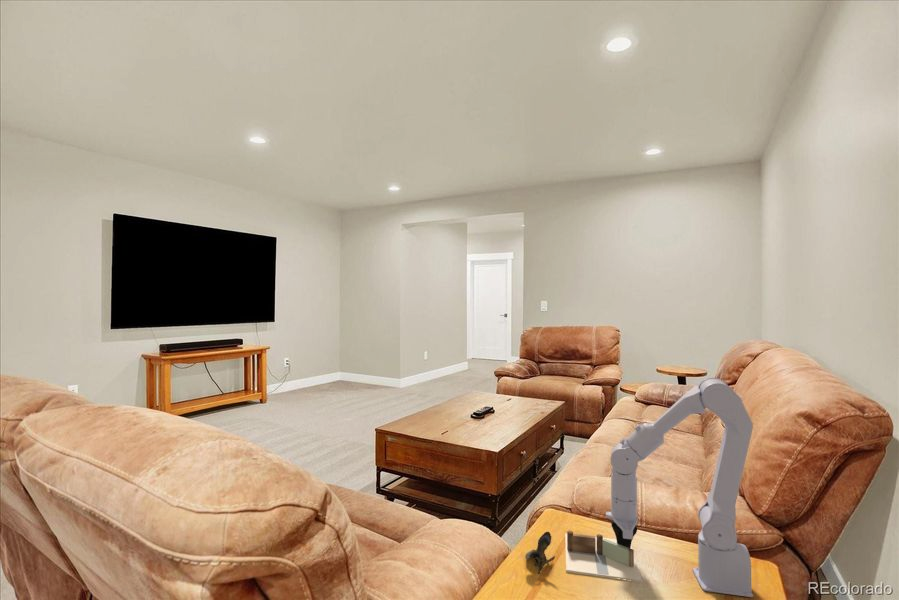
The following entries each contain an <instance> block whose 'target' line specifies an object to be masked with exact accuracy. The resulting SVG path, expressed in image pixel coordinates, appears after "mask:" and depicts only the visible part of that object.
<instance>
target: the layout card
mask: <svg viewBox="0 0 899 600" xmlns="http://www.w3.org/2000/svg"><path fill="white" fill-rule="evenodd" d="M564 538H565V540H564V542H565V572H566V573H570V574H577V575H584V576H585V575H586V576H590V577H591V576H592V577H598V576H599V578H605V577H609V578H608V579H612V578H620V579H626V580H625V581H627V580H631V581H630V582H634V581H635V582H634V583H641V582H642V583H643V579H642V577H641V574H640V570H639V567H638V562H637V559H636V557H635V555H634V567H630V566H628V565H626V564H623V563H621V562H619V561H616V560H614V559H611V558H609V557H607V556H604V555H598V554H597V536H595V538H596V554H591V553H583V552H575V551H568V550H567V532H566V533H565V534H564ZM604 539H607V540H609V541H612V542H615V543H617V540H616V538H607V537H603V540H604ZM630 549H633V547H632V545H631V548H630ZM620 579H619V580H620Z"/></svg>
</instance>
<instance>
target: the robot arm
mask: <svg viewBox="0 0 899 600" xmlns="http://www.w3.org/2000/svg"><path fill="white" fill-rule="evenodd" d="M705 408H706V409H708V410H709V411H710V412H712V413H713V414H714V415H716V416H717V417H718V418H719V419H720V421H721V422H722V423H723V424H724V428H723V429H724V430H723V434H722V438H721V442H720V447H719V452H718V456H717V459H716V460H717V461H716V465H715V470H714V474H713V479H712V483H711V488H710V491H709V493H708V494H707V496H706V500H705V503H704V504H703V505H702V506H701V507H700V508H699V510H698V519H699V521H700V524H701V531H700V532H699V533H698V535H697V538H698V540H697V545H698V547H697V548H698V550H697V551H698V553H697V554H698V557H697V558H698V563H697V564H698V567H692V572H693V573H694V575H695V578H696V580H697V582H698V584H699V586H700V587H701V589H702V591H705V592H710V593H717V594H718V593H719V594H724V595H732V596H739V597H746V598H753V597H754V593H752V592H753V591H752V590H753V589H752V560H751V556H750V552H749V550H748V548H747V546H746V545H745V544H742V543H739V542H737V541H738V533H737V530H736V527H735V526H736V520H737V514H736V509H737V508H736V504H737V501H738V496H739V491H740V486H741V482H742V477H743V473H744V468H745V465H746V464H745V463H746V460H747V459H746V458H747V454H748V452H749V446H750V441H751V438H752V433H753V430H754V429H753V427H754V423H753V421H752V419H751V417H750V414H749V412H748V411H747V408H746V407H745V405H744V403H743V400H742V398H741V397H740V395H739V394H737V393H736V392H735V390H734V389H733V388H732V387H730V385H728V384H727V382H725V381H724V380H723V379H720V378H718V377H714V376H713V377H707V378H705V379H703V380H701V381H700V383H699V385H694V386H693V387H691V388H690V389H689V390H688V391H687V392H686V393H684V394H682V396H681V397H679V399H678V400H676V402H675V403H673V404H672V405H671V406H670V407H669V408H667V410H666V411H665V412H664V413H663V414H662V415H661V416H659V417H658V418H657V419H656V420H655V421H654V422H651V423H650V422H644V423H642V424H640V423H639V424H637V425H636V426H635V427H634V431H633V432H632V433H631V434H630V435H628V436H627V437H626V438H622V439H621V440H620V442H619V443H618V444H616V445H614V446H613V448H612V450H611V455H610V465H611V476H610V480H611V481H610V511H605V517H606V518H607V519H611V521H610V524H611V529H612V530H613V532H614V534H615V539H616V540H617V544H620V545H622V546H625V547H627V548H631V546H632V541H633V539H634V537H635V535H636V534H637V532H638V526H637V523H638V521H639V517H638V479H637V475H636V472H637V469H638V466H639V462H642V461H644V460H645V459H647V458H648V457H649V456H650V455H651V454H652V453H654V452H655V451H656V450H657V449H659V448H660V447H661V446H662V445H663V444H664V443H665V439H664V436H665V434H667V433H668V432H669V431H671V430H672V429H673V428H674V427H676V426H677V425H678V424H680V423H682V422H683V421H684V420H686V419H687V418H688V417H689V416H691V415H693V414H695V415H696V414H700V415H701V414H707V410H706V409H705Z"/></svg>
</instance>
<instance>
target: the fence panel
mask: <svg viewBox="0 0 899 600" xmlns="http://www.w3.org/2000/svg"><path fill="white" fill-rule="evenodd" d="M634 552H635V551H634V549H633V548H632V549H630V548H627V547H625V546H622V545H620V544H617V543H615V542H612V541H609V540H607V539H604V540H603V555H604V556H607V557H609V558H611V559H614V560H616V561H619V562H621V563H623V564H626V565H628V566H630V567H634V556H635V553H634Z"/></svg>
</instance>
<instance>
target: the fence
mask: <svg viewBox="0 0 899 600" xmlns="http://www.w3.org/2000/svg"><path fill="white" fill-rule="evenodd" d="M566 534H567V550H568V551H575V552H583V553H591V554H596V538H595V537H597V554H598V555H603V538H604V537H603V535H602V534H599V533H598V534H596V536H594V535H586V534H579V533H574V532H573V531H572V530H568V531H566Z"/></svg>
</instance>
